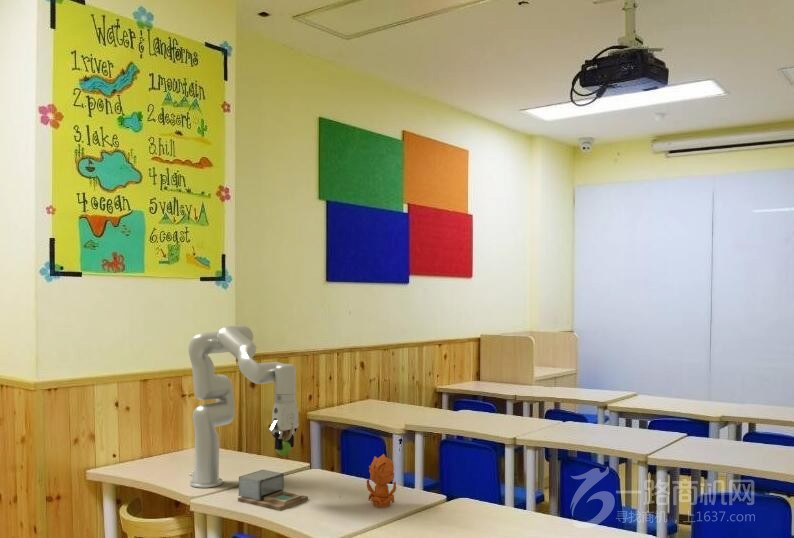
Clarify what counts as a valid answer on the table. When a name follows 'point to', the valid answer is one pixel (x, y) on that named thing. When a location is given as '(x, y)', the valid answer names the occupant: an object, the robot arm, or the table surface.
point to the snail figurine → (285, 442)
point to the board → (276, 500)
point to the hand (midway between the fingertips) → (284, 447)
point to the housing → (260, 484)
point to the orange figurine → (381, 481)
